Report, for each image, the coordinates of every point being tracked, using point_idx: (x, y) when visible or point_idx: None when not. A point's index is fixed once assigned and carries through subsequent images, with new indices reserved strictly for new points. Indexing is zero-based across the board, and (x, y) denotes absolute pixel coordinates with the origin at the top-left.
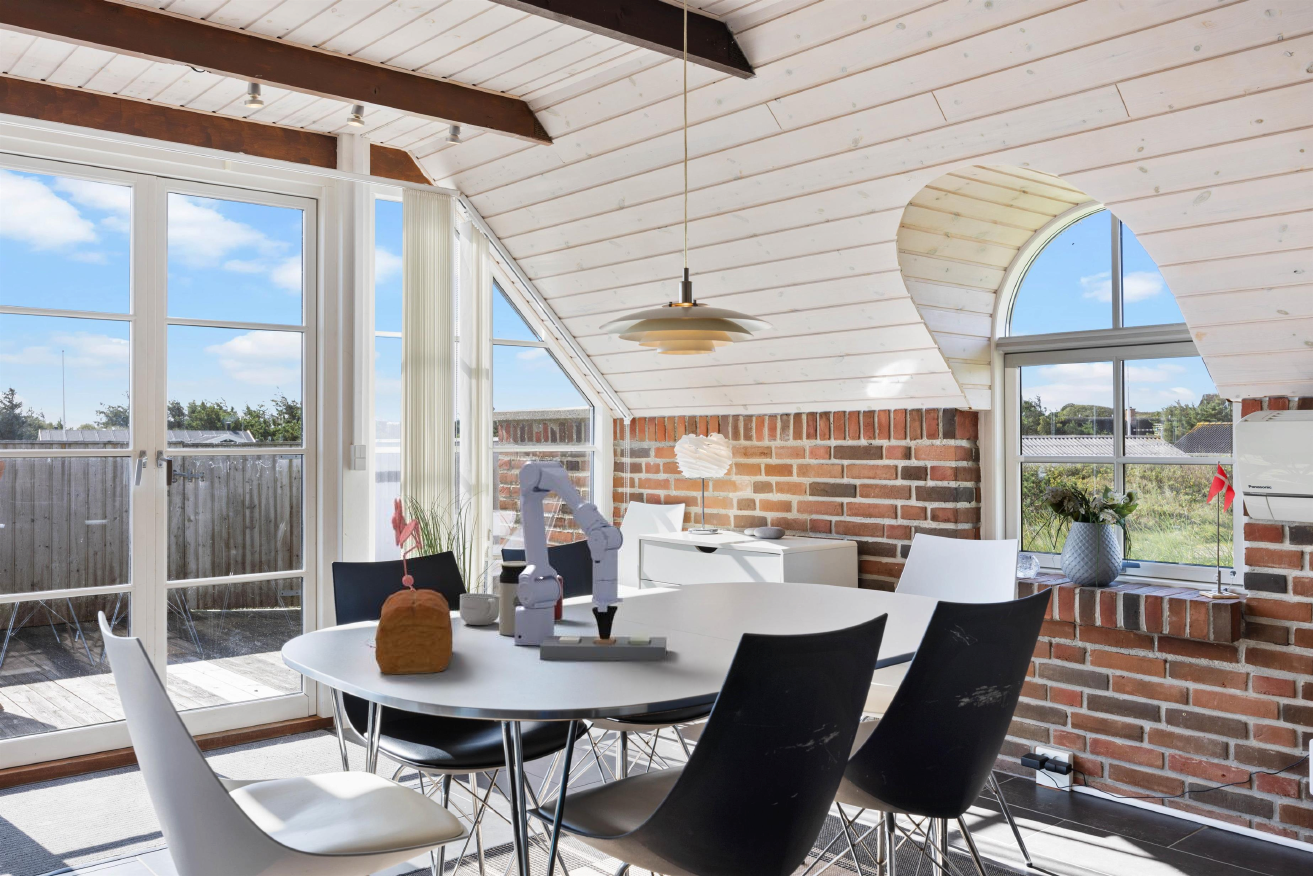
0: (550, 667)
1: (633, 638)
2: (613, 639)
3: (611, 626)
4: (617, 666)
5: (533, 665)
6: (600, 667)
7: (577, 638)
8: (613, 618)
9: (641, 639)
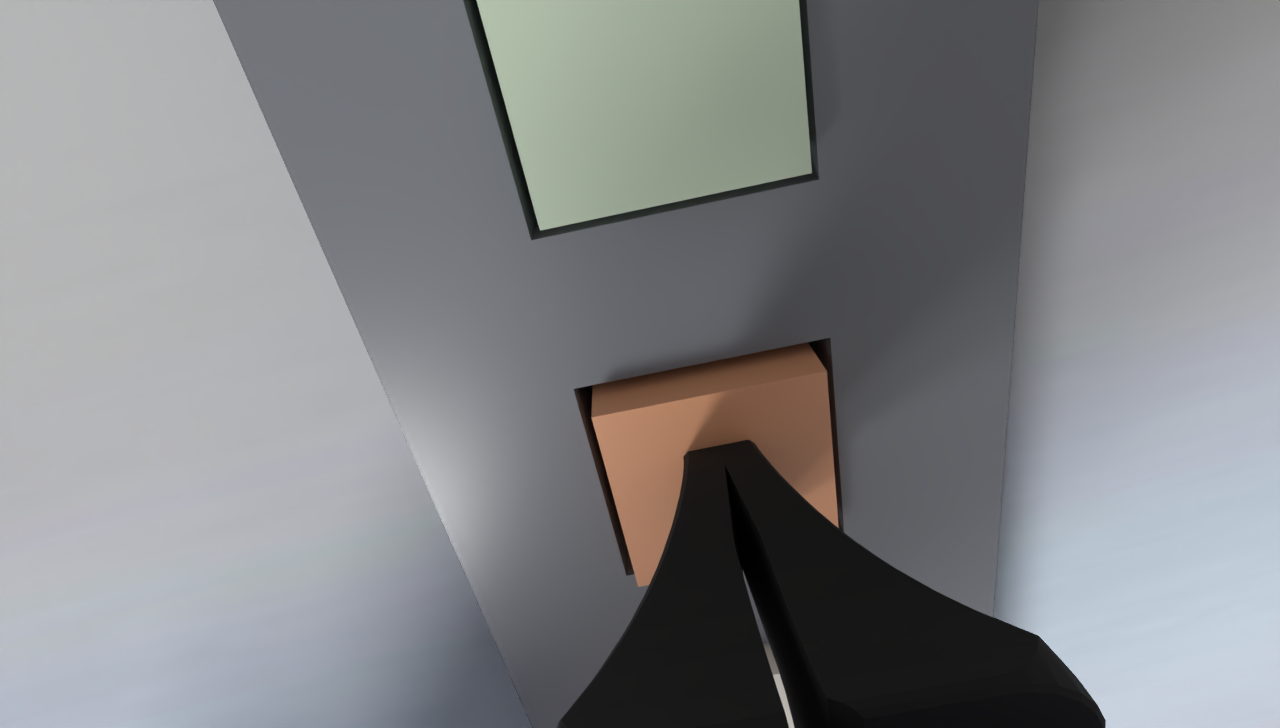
0: (1188, 593)
1: (647, 157)
2: (771, 387)
3: (809, 514)
4: (1228, 136)
5: (1113, 684)
6: (1247, 280)
7: (776, 686)
8: (700, 601)
9: (695, 4)
